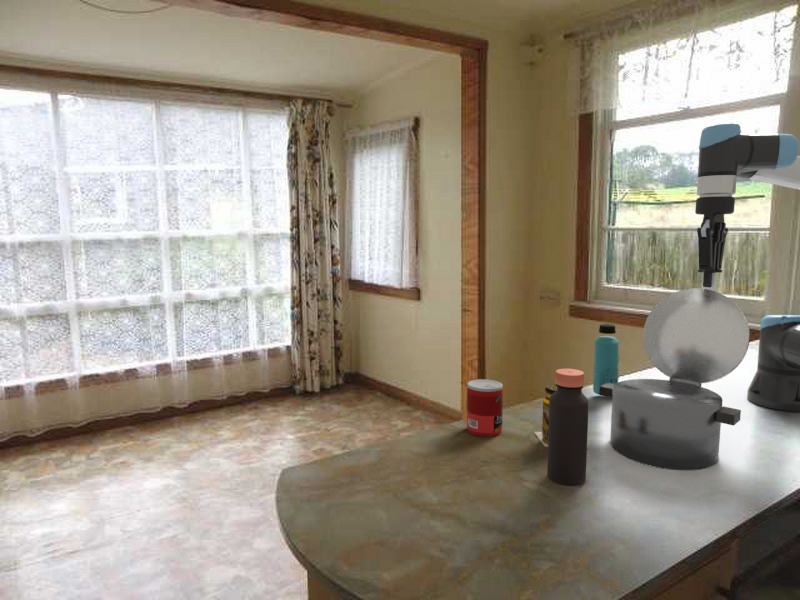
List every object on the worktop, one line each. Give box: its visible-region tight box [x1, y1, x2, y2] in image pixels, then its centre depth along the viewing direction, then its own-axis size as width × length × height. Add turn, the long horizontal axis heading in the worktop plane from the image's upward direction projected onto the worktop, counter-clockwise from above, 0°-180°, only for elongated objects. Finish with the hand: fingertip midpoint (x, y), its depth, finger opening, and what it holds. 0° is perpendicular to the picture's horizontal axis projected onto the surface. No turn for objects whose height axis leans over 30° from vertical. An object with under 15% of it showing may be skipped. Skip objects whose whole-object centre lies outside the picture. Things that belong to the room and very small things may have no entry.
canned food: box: [466, 378, 504, 438], centre depth 121 cm, size 8×8×11 cm
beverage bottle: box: [592, 323, 621, 395], centre depth 143 cm, size 6×7×20 cm
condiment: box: [533, 383, 557, 448], centre depth 116 cm, size 7×8×12 cm
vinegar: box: [546, 368, 590, 487], centre depth 97 cm, size 7×7×20 cm
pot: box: [598, 378, 742, 471], centre depth 111 cm, size 22×26×12 cm
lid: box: [642, 287, 751, 387], centre depth 118 cm, size 22×21×3 cm
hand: (707, 301), depth 123 cm, fingers closed
